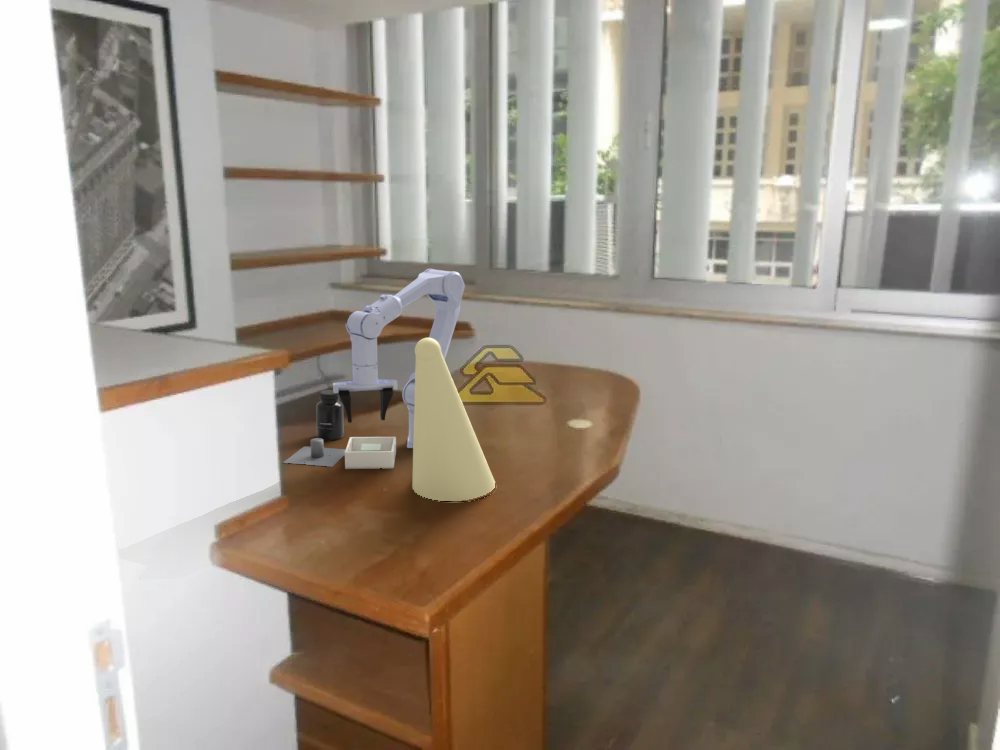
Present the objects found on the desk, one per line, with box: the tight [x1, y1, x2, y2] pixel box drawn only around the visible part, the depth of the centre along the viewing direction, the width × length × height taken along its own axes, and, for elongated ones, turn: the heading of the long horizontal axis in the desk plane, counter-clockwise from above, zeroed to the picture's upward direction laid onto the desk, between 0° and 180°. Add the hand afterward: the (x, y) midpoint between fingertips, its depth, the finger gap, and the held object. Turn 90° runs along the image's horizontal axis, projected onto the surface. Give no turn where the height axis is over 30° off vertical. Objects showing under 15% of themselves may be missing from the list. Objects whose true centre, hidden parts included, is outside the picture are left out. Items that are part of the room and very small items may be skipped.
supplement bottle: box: [315, 389, 345, 441], centre depth 194 cm, size 7×7×12 cm
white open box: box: [344, 436, 397, 470], centre depth 178 cm, size 11×11×4 cm
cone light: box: [411, 337, 496, 502], centre depth 157 cm, size 25×18×35 cm
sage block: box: [361, 444, 382, 451], centre depth 178 cm, size 4×4×3 cm
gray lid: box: [282, 437, 346, 468], centre depth 180 cm, size 12×12×5 cm
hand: (366, 420), depth 176 cm, fingers open, 7 cm apart
